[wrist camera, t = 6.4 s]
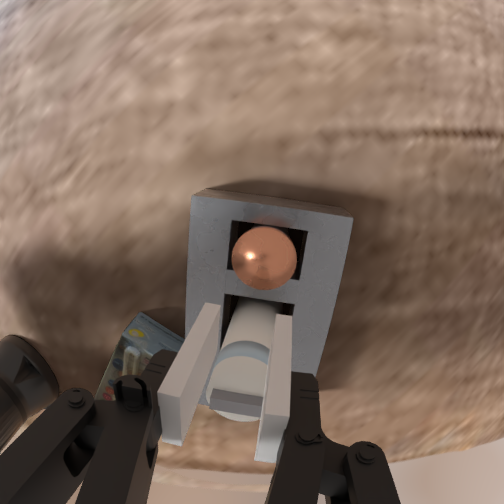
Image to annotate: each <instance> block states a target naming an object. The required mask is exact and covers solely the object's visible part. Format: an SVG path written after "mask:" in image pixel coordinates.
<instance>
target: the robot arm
mask: <svg viewBox="0 0 504 504" xmlns="http://www.w3.org/2000/svg"><path fill="white" fill-rule="evenodd" d="M220 309H221V305H217V304H212V303H206V302H205V304H204V306H203V308H202V310H201V312H200V313H199V315H198V317H197V319H196V321H195V323H194V324H193V326H192V328H191V330H190V332H189V334H188V336H187V337H186V339H185V341H184V343H183V345H182V347H181V348H180V350H179V352H174V351H170V350H165V349H161V350H160V351H158V352H157V353H155V354H154V355H153V356H152V358H151V359H150V361H149V364H147V366H146V367H145V370H143V372H142V374H141V375H140V376H138V375H124V376H121V377H119V378H117V379H116V380H115V381H114V382H113V383H112V384H113V390H114V395H115V399H116V400H114V401H106V400H94V398H93V396H92V394H91V393H90V392H88V391H87V390H85V389H81V388H72V389H69V390H67V391H65V392H64V393H62V394H61V395H60V396H59V387H58V383H57V381H56V378H55V376H54V374H53V372H52V371H51V369H50V367H49V366H48V364H47V363H46V362H45V360H44V359H43V358H42V357H41V355H40V354H39V353H38V352H37V351H36V350H35V349H34V348H33V347H32V346H31V345H29V344H28V343H27V342H25V341H24V340H22V339H21V338H19V337H16V336H13V335H8V336H6V337H4V338H3V339H2V340H1V341H0V452H1V451H2V450H3V449H4V447H5V446H6V445H7V444H8V442H9V441H10V440H11V438H12V437H13V436H14V435H15V434H16V432H17V431H18V430H19V429H20V427H21V426H22V425H23V424H24V422H25V421H26V420H27V419H28V418H29V417H31V416H33V415H35V414H36V413H38V412H40V411H41V410H42V409H46V410H45V411H44V412H43V413H42V414H41V415H40V416H39V417H38V418H37V419H36V420H35V421H34V422H33V423H32V424H31V425H30V426H29V427H28V428H27V429H26V430H25V431H24V432H23V433H22V434H21V435H20V436H19V437H18V438H17V439H16V440H15V441H14V442H13V443H12V444H11V445H10V446H9V447H8V448H7V449H6V450H5V451H4V452H3V453H2V454H1V453H0V454H1V455H0V504H66V503H67V501H68V500H69V499H70V497H71V496H72V495H73V493H74V492H75V491H76V489H77V488H78V487H79V485H80V484H81V483H82V481H83V480H84V481H83V483H82V486H81V489H80V492H79V494H78V497H77V500H76V503H75V504H146V503H147V499H148V494H149V489H150V484H151V480H152V476H153V471H154V467H155V463H156V458H157V454H158V440H159V438H160V436H161V434H162V441H163V442H167V443H171V444H174V445H178V446H182V445H183V442H184V439H185V437H186V434H187V431H188V429H189V426H190V423H191V420H192V418H193V415H194V412H195V410H196V407H197V404H198V401H199V399H200V396H201V393H202V391H203V388H204V385H205V382H206V380H207V377H208V374H209V372H210V369H211V366H212V363H213V361H214V358H215V355H216V352H217V347H218V334H219V321H220ZM291 355H292V316H288V315H281V314H276V319H275V325H274V331H273V336H272V342H271V347H270V353H269V358H268V366H267V374H266V381H265V389H264V396H263V404H262V411H261V418H260V425H259V432H258V439H257V446H256V453H255V461H262V462H270V463H275V462H276V468H275V471H274V474H273V477H272V480H271V484H270V487H269V491H268V494H267V498H266V501H265V504H317V500H318V495H319V493H320V494H323V495H325V499H326V504H401V503H400V500H399V497H398V494H397V490H396V487H395V484H394V481H393V478H392V475H391V472H390V469H389V466H388V463H387V460H386V457H385V454H384V452H383V451H382V449H381V448H380V447H379V446H377V445H376V444H374V443H371V442H366V441H361V442H356V443H354V444H353V445H351V446H350V447H348V446H344V445H341V444H338V443H336V442H333V441H331V440H330V439H328V438H327V437H326V436H325V434H324V432H323V431H322V429H321V419H320V403H319V393H318V392H319V389H318V381H317V380H316V378H315V377H314V375H313V374H311V373H302V372H294V371H291ZM58 396H59V397H58ZM276 459H277V460H276Z"/></svg>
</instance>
